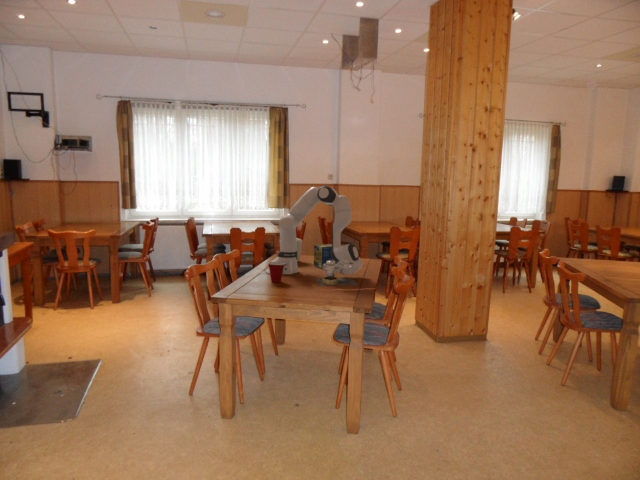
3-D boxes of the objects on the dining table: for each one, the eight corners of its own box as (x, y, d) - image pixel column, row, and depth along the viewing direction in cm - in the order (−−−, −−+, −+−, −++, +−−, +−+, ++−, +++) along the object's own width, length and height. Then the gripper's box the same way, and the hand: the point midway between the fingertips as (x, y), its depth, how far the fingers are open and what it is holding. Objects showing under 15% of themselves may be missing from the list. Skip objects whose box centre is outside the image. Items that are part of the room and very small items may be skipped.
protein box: (313, 266, 330) (313, 245, 327) (330, 264, 338) (331, 243, 336) (321, 268, 321) (321, 247, 319) (338, 266, 329) (339, 245, 327)
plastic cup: (288, 281, 280) (289, 262, 278) (277, 284, 271) (277, 264, 269) (275, 278, 286) (275, 260, 284) (263, 281, 277) (263, 262, 275)
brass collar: (323, 285, 267) (323, 280, 266) (321, 281, 276) (321, 276, 276) (339, 284, 268) (339, 279, 268) (336, 281, 278) (336, 276, 277)
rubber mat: (320, 287, 266) (320, 285, 265) (315, 280, 282) (315, 279, 282) (358, 286, 269) (358, 284, 269) (351, 280, 286) (351, 278, 286)
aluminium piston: (326, 281, 269) (327, 262, 268) (325, 279, 274) (325, 260, 273) (335, 281, 270) (335, 261, 268) (333, 279, 275) (334, 260, 273)
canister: (295, 265, 332) (296, 236, 329) (274, 262, 340) (274, 234, 337) (306, 261, 349) (307, 234, 346) (286, 259, 356) (286, 232, 353)
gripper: (330, 259, 287) (316, 262, 277) (357, 264, 274) (342, 267, 264) (330, 269, 288) (316, 272, 278) (356, 274, 275) (342, 278, 264)
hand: (329, 270), depth 271 cm, fingers closed on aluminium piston, 5 cm apart
